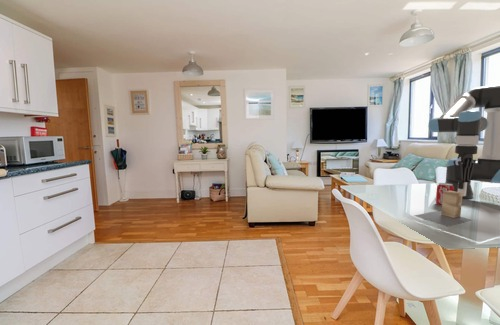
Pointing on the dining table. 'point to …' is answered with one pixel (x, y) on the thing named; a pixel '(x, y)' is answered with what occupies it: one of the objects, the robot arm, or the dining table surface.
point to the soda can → (441, 189)
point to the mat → (442, 218)
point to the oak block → (451, 204)
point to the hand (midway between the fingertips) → (461, 195)
